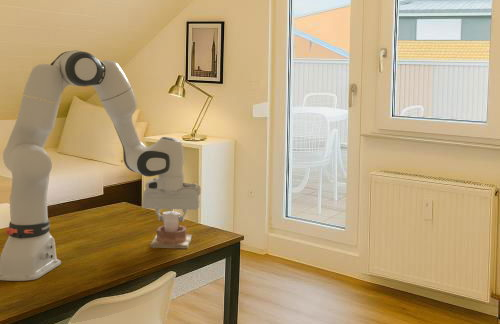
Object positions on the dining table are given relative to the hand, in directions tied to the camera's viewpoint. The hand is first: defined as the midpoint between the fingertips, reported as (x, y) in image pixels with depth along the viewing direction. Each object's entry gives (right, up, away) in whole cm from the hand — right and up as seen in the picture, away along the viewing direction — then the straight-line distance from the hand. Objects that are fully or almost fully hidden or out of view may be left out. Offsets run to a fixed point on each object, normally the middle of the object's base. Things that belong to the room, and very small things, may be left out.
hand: (171, 220), depth 220 cm
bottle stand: (0, -8, +1) cm, 8 cm away
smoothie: (0, -7, +1) cm, 7 cm away
